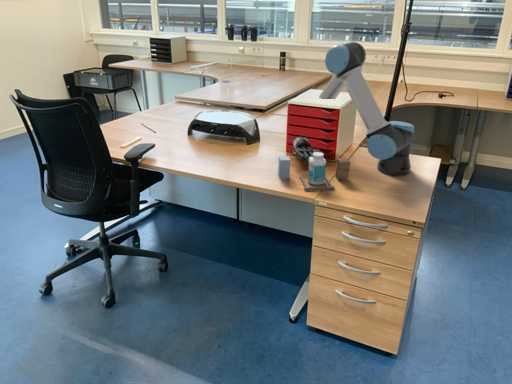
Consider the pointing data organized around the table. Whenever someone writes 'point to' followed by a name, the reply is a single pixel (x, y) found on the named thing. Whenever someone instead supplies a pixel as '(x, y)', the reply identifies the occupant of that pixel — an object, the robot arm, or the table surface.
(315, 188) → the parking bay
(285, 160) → the slate-blue block
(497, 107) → the table surface
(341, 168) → the walnut block
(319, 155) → the pill bottle
